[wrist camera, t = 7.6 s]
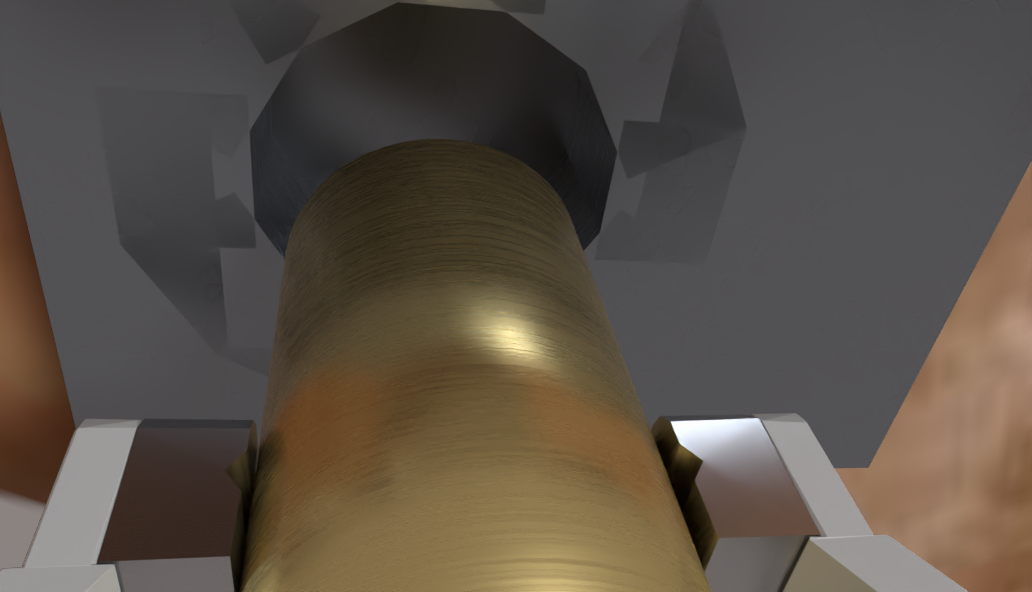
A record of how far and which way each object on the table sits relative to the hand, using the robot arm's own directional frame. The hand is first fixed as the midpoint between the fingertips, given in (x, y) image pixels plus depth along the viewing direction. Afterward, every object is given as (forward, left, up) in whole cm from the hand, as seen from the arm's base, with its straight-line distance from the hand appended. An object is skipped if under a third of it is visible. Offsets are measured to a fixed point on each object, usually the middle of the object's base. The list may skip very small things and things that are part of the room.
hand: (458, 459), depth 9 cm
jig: (-2, 0, -10) cm, 10 cm away
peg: (0, 0, -4) cm, 4 cm away
